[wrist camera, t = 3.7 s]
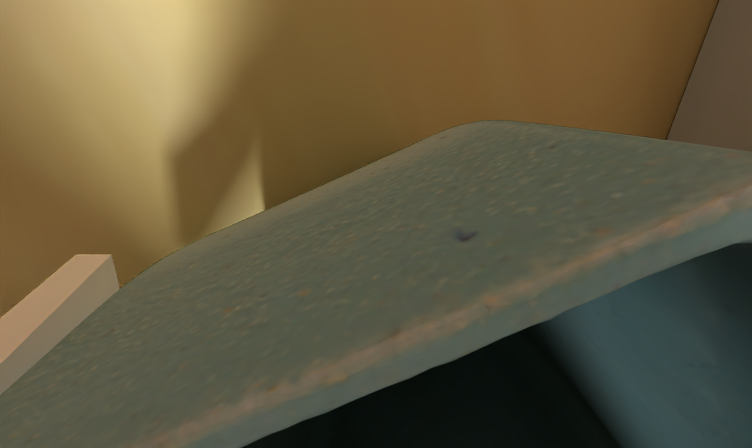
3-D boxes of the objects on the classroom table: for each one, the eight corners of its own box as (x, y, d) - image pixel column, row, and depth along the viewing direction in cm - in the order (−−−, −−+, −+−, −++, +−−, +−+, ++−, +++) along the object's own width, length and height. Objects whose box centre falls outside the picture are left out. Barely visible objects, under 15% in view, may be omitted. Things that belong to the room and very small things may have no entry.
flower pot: (526, 302, 14) (795, 648, 6) (307, 392, 15) (288, 818, 7) (455, 63, 10) (916, 134, 2) (164, 196, 11) (-291, 631, 3)
